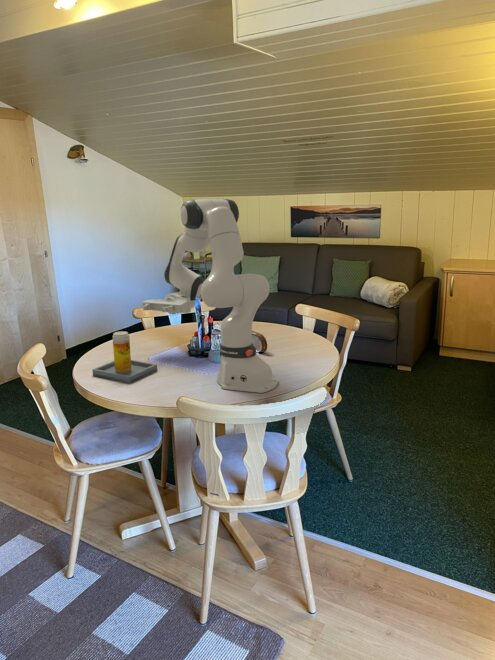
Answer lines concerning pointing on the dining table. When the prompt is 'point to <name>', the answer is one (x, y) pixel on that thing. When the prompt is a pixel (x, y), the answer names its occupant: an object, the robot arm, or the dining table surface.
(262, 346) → the tin
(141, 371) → the tray
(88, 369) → the dining table surface
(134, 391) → the dining table surface
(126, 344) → the beer can
